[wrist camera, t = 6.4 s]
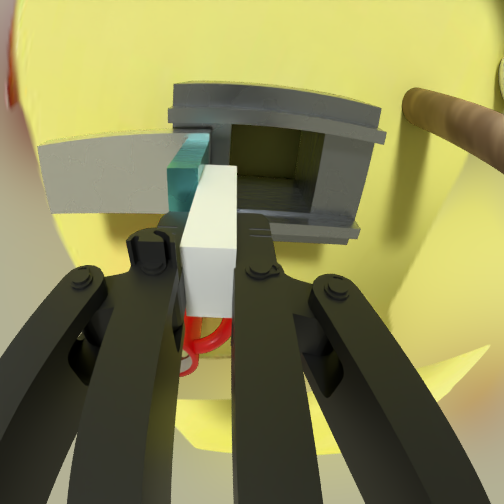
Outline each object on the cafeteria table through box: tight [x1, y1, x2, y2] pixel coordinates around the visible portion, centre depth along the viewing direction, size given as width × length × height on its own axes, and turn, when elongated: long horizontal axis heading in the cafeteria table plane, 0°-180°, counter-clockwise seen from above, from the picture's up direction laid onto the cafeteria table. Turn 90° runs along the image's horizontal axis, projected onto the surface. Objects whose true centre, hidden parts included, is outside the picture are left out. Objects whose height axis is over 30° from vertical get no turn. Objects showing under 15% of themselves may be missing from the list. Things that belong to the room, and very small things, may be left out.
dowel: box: [402, 88, 504, 174], centre depth 14 cm, size 4×4×12 cm
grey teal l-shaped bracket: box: [37, 129, 212, 214], centre depth 13 cm, size 5×11×6 cm, turn 85°
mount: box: [168, 81, 387, 245], centre depth 18 cm, size 10×12×7 cm
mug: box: [179, 308, 232, 377], centre depth 27 cm, size 8×12×8 cm, turn 108°
